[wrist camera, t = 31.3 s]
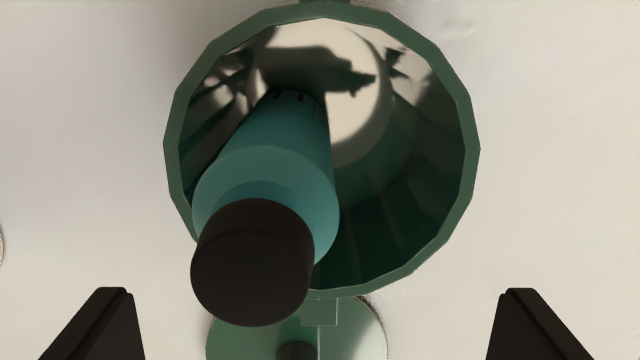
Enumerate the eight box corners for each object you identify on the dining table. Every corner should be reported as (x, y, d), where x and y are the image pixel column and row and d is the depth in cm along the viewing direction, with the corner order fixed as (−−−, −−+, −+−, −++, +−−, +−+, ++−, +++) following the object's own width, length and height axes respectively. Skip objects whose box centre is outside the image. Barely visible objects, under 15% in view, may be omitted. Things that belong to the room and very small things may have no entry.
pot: (225, 243, 35) (187, 333, 25) (202, -35, 27) (132, -71, 17) (411, 245, 35) (449, 335, 25) (442, -31, 27) (517, -64, 17)
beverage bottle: (316, 72, 29) (315, 156, 11) (341, 154, 32) (376, 338, 13) (234, 99, 30) (100, 220, 11) (265, 176, 32) (194, 382, 14)
